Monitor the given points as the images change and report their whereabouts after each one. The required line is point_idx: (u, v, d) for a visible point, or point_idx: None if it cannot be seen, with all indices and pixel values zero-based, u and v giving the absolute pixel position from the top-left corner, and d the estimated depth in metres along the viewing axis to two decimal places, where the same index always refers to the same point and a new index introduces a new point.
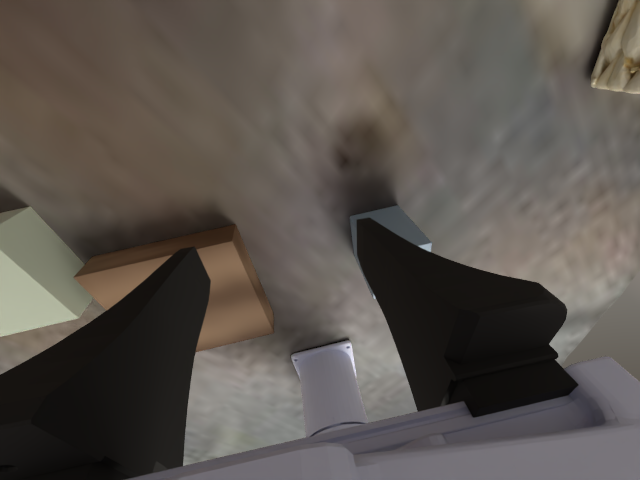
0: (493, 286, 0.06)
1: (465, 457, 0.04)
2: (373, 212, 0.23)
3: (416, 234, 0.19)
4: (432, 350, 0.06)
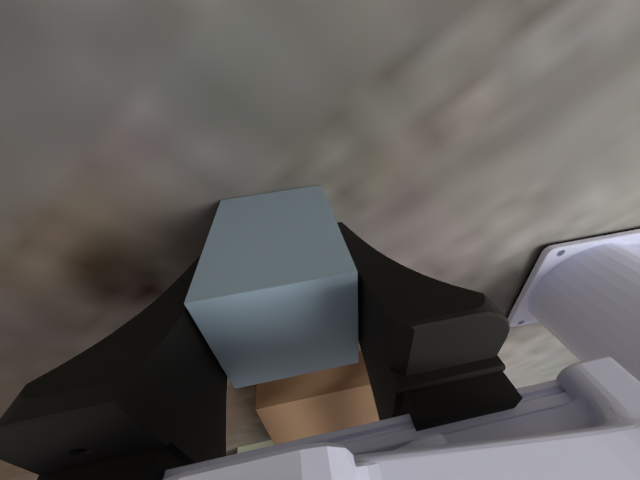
0: (439, 297, 0.06)
1: (465, 457, 0.04)
2: None
3: None
4: (383, 360, 0.06)
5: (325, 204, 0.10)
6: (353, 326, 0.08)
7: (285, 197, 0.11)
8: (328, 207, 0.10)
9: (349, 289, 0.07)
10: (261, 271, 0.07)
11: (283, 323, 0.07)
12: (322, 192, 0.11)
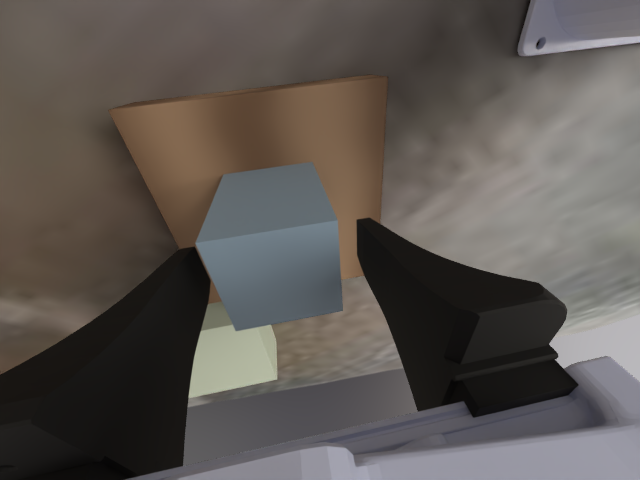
0: (494, 286, 0.06)
1: (465, 457, 0.04)
2: None
3: None
4: (432, 350, 0.06)
5: (315, 175, 0.12)
6: (336, 273, 0.10)
7: (280, 171, 0.12)
8: (317, 177, 0.11)
9: (331, 236, 0.09)
10: (258, 221, 0.09)
11: (276, 266, 0.09)
12: (313, 167, 0.12)
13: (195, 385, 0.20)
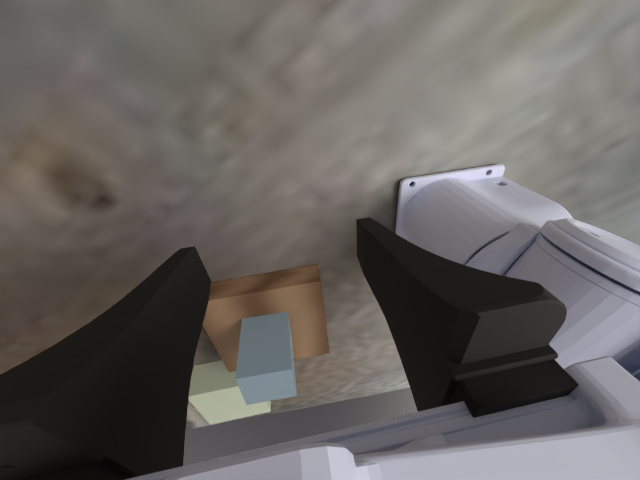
0: (493, 286, 0.06)
1: (465, 457, 0.04)
2: None
3: None
4: (432, 350, 0.06)
5: (287, 328, 0.24)
6: (292, 384, 0.22)
7: (271, 320, 0.25)
8: (288, 330, 0.24)
9: (289, 373, 0.21)
10: (259, 366, 0.21)
11: (266, 383, 0.21)
12: (287, 318, 0.25)
13: (219, 416, 0.33)
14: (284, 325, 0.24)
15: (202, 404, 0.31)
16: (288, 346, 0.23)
